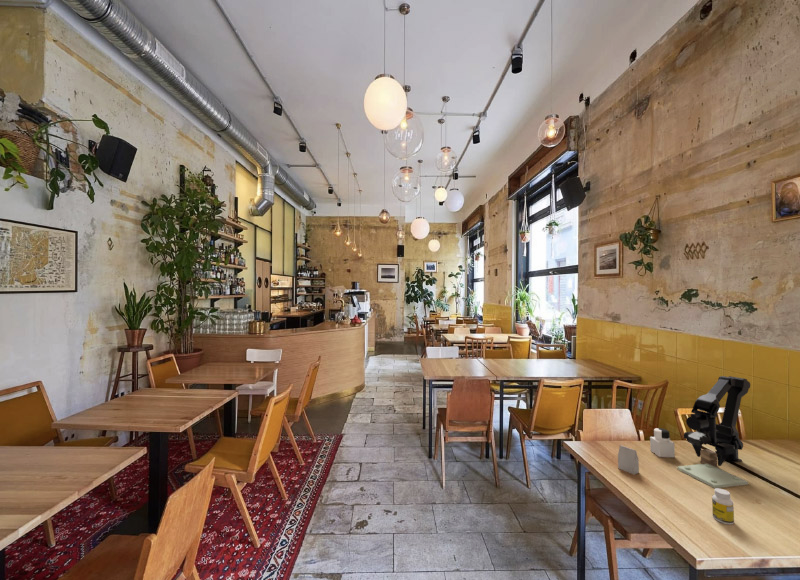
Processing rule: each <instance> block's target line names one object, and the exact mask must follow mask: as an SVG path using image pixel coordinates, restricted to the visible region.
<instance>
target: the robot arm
mask: <svg viewBox="0 0 800 580" xmlns="http://www.w3.org/2000/svg"><path fill="white" fill-rule="evenodd" d="M750 388H751V382H750V381H749V380H748V379H747V378H743V377H738V376H731V375H730V376H724V375H722V376H719V377H718V380H717V381H716V383H715V384H714V385H713V386H712V387H711V388H710V390H709V391H708V392H707V393H706V394H703V395H700V396H699V397H698V398H697V399H696V400H695V401H694V404H693V406H692V408H691V413H690V416H688V417H687V418H686V420H685V423H686V425H687V427H688V428H689V429H691V431H685V432H684V433H683V439H686V441H687V442H689V444H691V446H692V448H693V449H694V451H695V454H696V456H697V457H698V458H701V452H700V450H702V446H703V445H709V446H711V447H713V448H714V449H715V450H714V452H716V454H717V467H721V466H723V464H724V462H725V461H727V462H730V463H737V462H743V460H742V459H741V458H739V450H740V451H741V450H743V449H744V443H743V441H742V440H741V439H740V433H739V431H738V429H737V427H736V425H737V423H738V422H737V421H738V417H739V413H740V412H739V410H740V407H741V401H742V398H743V397H744V396H745V395H747V394H748V392H749V390H750ZM726 394H727V395H726ZM725 395H726V400H725V405H724V410H723V414H722V418H721V419H722V420H721V422H720V423H719V424H718V423H716V422H717V420H716V419H717V417H718V416H719V415H718V412H719V410H720V408H721V404H720V402H721V400H722V399H723V398H724V396H725ZM692 430H693V431H692Z"/></svg>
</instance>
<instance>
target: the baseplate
mask: <svg viewBox="0 0 800 580" xmlns="http://www.w3.org/2000/svg"><path fill="white" fill-rule="evenodd" d="M676 469H677V470H678V471H681V472H682V473H684V474H686V475H688V476H690V477H691V478H694V479H696V480H698V481H700V482H701V483H704V484H706V485H707V486H710V487H711V488H714V489H715V488H720V489H723V488H730V487H738V486H739V485H740V486H746V485H747V486H748V485H749V481H747V480H745V479H744V478H741V477H739V476H736V475H735V474H732V473H729V472H727V471H726V470H723V469H721V468H719V467H718V466H717V467H714V466H712V465H710V464H708V463H706V464H702V463H697V464H689V465H679V466H677V467H676Z"/></svg>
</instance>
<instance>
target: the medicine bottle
mask: <svg viewBox="0 0 800 580" xmlns="http://www.w3.org/2000/svg"><path fill="white" fill-rule="evenodd" d="M670 437H671V436H670V431H669V430H667V429H665V428H662V427H658V428H657V427H656V428H654V429H653V436H650V437H649V445H650V452H652V453H653V454H654V453H655V454H654V455H656V456H658V458H675V457H676V450H675V448H676V447H675V442H673V441H672V440H671V438H670Z"/></svg>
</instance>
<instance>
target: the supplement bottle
mask: <svg viewBox="0 0 800 580" xmlns="http://www.w3.org/2000/svg"><path fill="white" fill-rule="evenodd" d="M713 490H714V494H713V495H712V497H711V500H712V501H711V503H712V516H713V519H714V520H716V521H717V522H719V523H722V524H724V525H733V524H734V523H735V513H734V511H735V510H734V509H735V506H734V500H732V499H731V493H730V492H729V490H726V489H723V488H714V489H713Z"/></svg>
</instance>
